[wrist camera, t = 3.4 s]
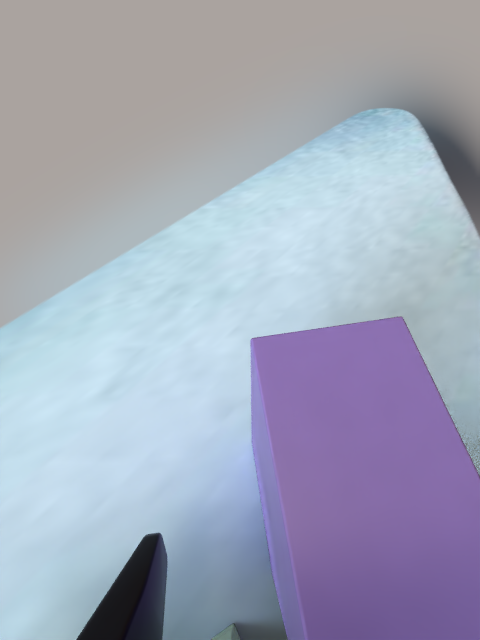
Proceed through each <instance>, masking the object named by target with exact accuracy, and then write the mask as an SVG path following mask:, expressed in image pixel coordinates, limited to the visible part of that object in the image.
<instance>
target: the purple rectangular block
mask: <svg viewBox="0 0 480 640" xmlns="http://www.w3.org/2000/svg"><path fill="white" fill-rule="evenodd" d="M251 416H252V446H253V452H254V459H255V465H256V472H257V478H258V485H259V491H260V498H261V504H262V511H263V517H264V524H265V530H266V537H267V543H268V550H269V557H270V563H271V570H272V576H273V580H274V584H275V588H276V592H277V596H278V601H279V605H280V609H281V613H282V617H283V621H284V625H285V630H286V634H287V638H288V640H480V476H479V474H478V472H477V470H476V468H475V466H474V464H473V462H472V459H471V457H470V455H469V453H468V451H467V449H466V447H465V445H464V443H463V441H462V439H461V437H460V435H459V433H458V431H457V428H456V426H455V424H454V422H453V420H452V418H451V416H450V414H449V412H448V410H447V408H446V406H445V404H444V402H443V400H442V397H441V395H440V393H439V391H438V389H437V387H436V385H435V383H434V381H433V379H432V377H431V375H430V373H429V371H428V369H427V366H426V364H425V362H424V360H423V358H422V356H421V354H420V352H419V350H418V348H417V346H416V344H415V342H414V340H413V338H412V336H411V333H410V331H409V329H408V327H407V325H406V323H405V321H404V319H403V317H394V318H387V319H380V320H374V321H367V322H360V323H353V324H346V325H339V326H332V327H325V328H318V329H312V330H305V331H298V332H291V333H284V334H277V335H270V336H263V337H257V338H252V339H251Z"/></svg>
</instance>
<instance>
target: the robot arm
mask: <svg viewBox="0 0 480 640" xmlns="http://www.w3.org/2000/svg"><path fill="white" fill-rule="evenodd" d="M166 578H167V553H166V549H165V545H164V541H163V538H162V535H161V533H153V534H148V535H146V536H145V537H144V538H143V539H142V541H141V542H140V544H139V545H138V547H137V548H136V550H135V551H134V553H133V554H132V556H131V557H130V559H129V560H128V562H127V563H126V565H125V566H124V568H123V569H122V571H121V573H120V574H119V576H118V577H117V579H116V580H115V582H114V583H113V585H112V586H111V588H110V589H109V591H108V592H107V594H106V595H105V597H104V598H103V600H102V601H101V603H100V604H99V606H98V607H97V609H96V611H95V612H94V614H93V615H92V617H91V618H90V620H89V621H88V623H87V624H86V626H85V627H84V629H83V630H82V632H81V633H80V635H79V636H78V638H77V639H76V640H162V634H163V622H164V607H165V593H166Z"/></svg>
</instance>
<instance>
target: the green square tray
mask: <svg viewBox="0 0 480 640" xmlns="http://www.w3.org/2000/svg"><path fill="white" fill-rule="evenodd" d="M211 640H240V637H239V635H238V632H237V630H236V627H235V624H234V623H233V624H231V625H230V626H229V627H227V628H226V629H225V630H223V631H222V632H221V633H219V634H218V635H216V636H215V637H214V638H212V639H211Z"/></svg>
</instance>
